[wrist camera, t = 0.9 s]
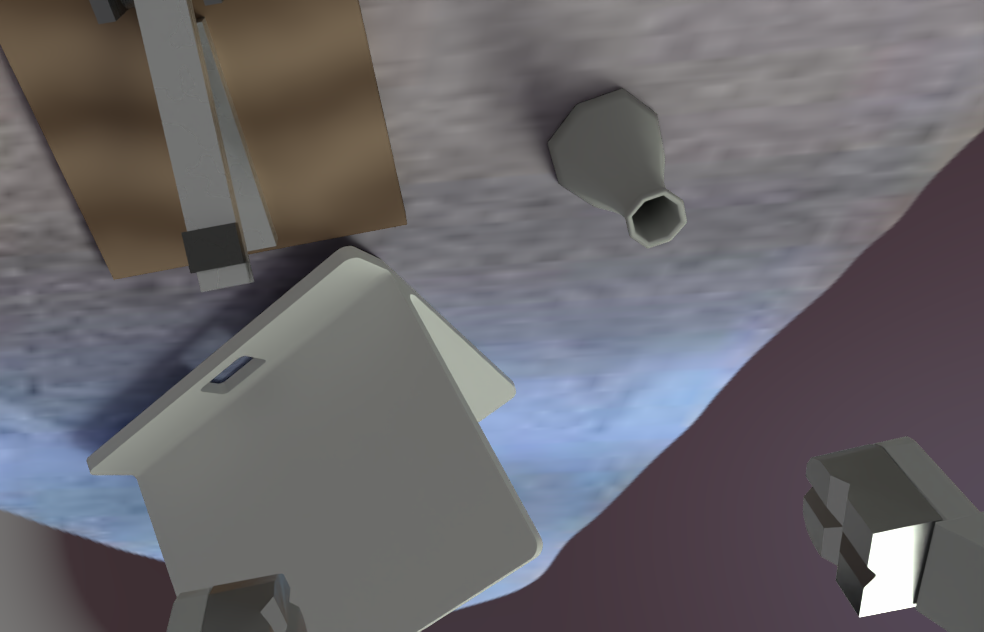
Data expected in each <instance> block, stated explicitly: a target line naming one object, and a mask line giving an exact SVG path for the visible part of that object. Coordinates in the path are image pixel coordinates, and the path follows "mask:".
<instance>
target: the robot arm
mask: <svg viewBox="0 0 984 632" xmlns="http://www.w3.org/2000/svg"><path fill="white" fill-rule="evenodd" d="M806 477H807V479H808V480H809V482H810V483H811V485H812V488H811V489H810V490H809V491H808V492H807V494H806V495H805V496H804V501H803V515H804V519H805V524H806V528H807V531H808V534H809V536H810V538H811V540H812V543H813V544H814V546H815V548H816V549H817V551H818V553H819V554H820V556H821V557H823V558H825V559H826V560H828V561H830V562H832V563H833V564H835V565H837V566H838V567H837V575H836V581H837V583H838V585H839V586H840V588H841V589H842V591H843V592H844V594H845V596H846V597H847V599H848V600H849V602H850V603H851V605H852V607H853V608H854V610H855V611H856V613H857V614H858V616H859V617H863V616H867V615H873V614H878V613H883V612H888V611H893V610H898V609H903V608H909V607H914V606H916V608H915V609H916V610H917V611H919V612H920V613H921V614H923V615H924V616H926V617H928V618H929V619H931V620H932V621H933V622H935V623H936V624H938V625H939V626H941V627H942V628H944V629H945V630H947V631H948V632H984V512H980V511H979V510H978V509H977V508H976V507H975V506H974V505H973V504H972V503H971V502H970V501H969V500H968V498H966V496H965V495H964V494H963V493H962V492H961V491H960V490H959V489H958V487H957V486H956V485H955V484H954V483H953V482H952V481H951V480H950V479H949V478H948V476H947V475H945V473H944V472H943V471H942V470H941V469H940V468H939V467H938V466H937V464H936V463H935V462H934V461H933V460H932V459H931V458H930V457H929V456H928V455H927V454H926V452H925V451H924V450H923V449H922V448H921V447H920V446H919V445H918V444H917V443H916V441H915V440H913V439H911V438H909V437H907V436H906V437H902V438H897V439H893V440H888V441H884V442H879V443H875V444H869V445H864V446H860V447H855V448H851V449H847V450H842V451H838V452H834V453H829V454H825V455H821V456H816V457H812V458H811V459H810V461H809V462H808V463H807V469H806ZM289 599H290V586H289V584H288V582H287V580H286V578H285V576H284V574H274V575H269V576H264V577H258V578H253V579H248V580H243V581H237V582H232V583H227V584H222V585H216V586H213V587H208V588H203V589H198V590H193V591H188V592H183V593H180V594H179V596H178V597H177V599H176V600H175V602H174V604H173V607H172V611H171V615H170V620H169V624H168V628H167V632H307V629H306V625H305V621H304V617H303V615H302V613H301V610H300V608H299V607H298V606H296V605H294V604H292V603H290V602H289Z"/></svg>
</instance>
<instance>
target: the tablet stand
mask: <svg viewBox="0 0 984 632" xmlns="http://www.w3.org/2000/svg"><path fill="white" fill-rule="evenodd" d="M242 356H249V357H254V358H253V359H252V360H251V361H249V362H248V363H247V364H246V365H244V366H243V367H242V368H241V369H240V370H238V371H237V372H236V373H235V374H233V375H232V376H231V377H230V378H229V379H227V380H226V381H225V382H223V383H220V384H217V383H211V382H210V381H211V380H212V379H214V378H215V377H216V376H217V375H218V374H220V373H221V372H222V371H223V370H225V369H226V368H227V367H228V366H229V365H231V364H232V363H233V362H234V361H236V360H237V359H238V358H240V357H242ZM515 394H516V389H515V385H514V383H513V381H512V380H511V379H510V378H508V377H507V376H506V375H505V374H504V373H503V372H502V371H501V370H500V369H499V368H498V367H497V366H495V365H494V364H493V363H492V362H491V361H490V360H489V359H488V358H487V357H486V356H485V355H484V354H483V353H481V352H480V351H479V350H478V349H477V348H476V347H475V346H474V345H473V344H472V343H471V342H470V341H469V340H467V339H466V338H465V337H464V336H463V335H462V334H461V333H460V332H459V331H458V330H457V329H456V328H454V327H453V326H452V325H451V324H450V323H449V322H448V321H447V320H446V319H445V318H444V317H443V316H442V315H440V314H439V313H438V312H437V311H436V310H435V309H434V308H433V307H432V306H431V305H430V304H429V303H427V302H426V301H425V300H424V299H423V298H422V297H421V296H420V295H419V294H418V293H417V292H416V291H415V290H413V289H412V288H411V287H410V286H409V285H408V284H407V283H406V282H405V281H404V280H403V279H402V278H401V277H399V276H398V275H397V274H396V273H395V272H394V271H393V270H392V269H391V268H390V267H389V266H388V265H386V264H385V263H384V262H383V261H382V260H381V259H379V258H377V257H375V256H373V255H370V254H368V253H366V252H364V251H362V250H360V249H358V248H356V247H353V246H345V247H342V248H340V249H338V250H337V251H336V252H334V253H333V254H332V255H331V256H330V257H328V258H327V259H326V260H325V261H324V262H322V263H321V264H320V265H319V266H318V267H316V268H315V269H314V270H313V271H312V272H310V273H309V274H308V275H307V276H306V277H304V278H303V279H302V280H301V281H300V282H298V283H297V284H296V285H295V286H294V287H292V288H291V289H290V290H289V291H288V292H286V293H285V294H284V295H283V296H282V297H280V298H279V299H278V300H277V301H275V302H274V303H273V304H272V305H271V306H269V307H268V308H267V309H266V310H265V311H263V312H262V313H261V314H260V315H259V316H257V317H256V318H255V319H254V320H253V321H251V322H250V323H249V324H248V325H247V326H245V327H244V328H243V329H242V330H241V331H239V332H238V333H237V334H236V335H235V336H233V337H232V338H231V339H230V340H229V341H227V342H226V343H225V344H224V345H223V346H221V347H220V348H219V349H218V350H217V351H215V352H214V353H213V354H212V355H211V356H209V357H208V358H207V359H206V360H205V361H203V362H202V363H201V364H200V365H199V366H197V367H196V368H195V369H194V370H193V371H191V372H190V373H189V374H188V375H186V376H185V377H184V378H183V379H182V380H180V381H179V382H178V383H177V384H176V385H174V386H173V387H172V388H171V389H170V390H168V391H167V392H166V393H165V394H164V395H162V396H161V397H160V398H159V399H158V400H156V401H155V402H154V403H153V404H152V405H150V406H149V407H148V408H147V409H146V410H144V411H143V412H142V413H141V414H140V415H138V416H137V417H136V418H135V419H134V420H132V421H131V422H130V423H129V424H128V425H126V426H125V427H124V428H123V429H122V430H120V431H119V432H118V433H117V434H116V435H114V436H113V437H112V438H111V439H110V440H108V441H107V442H106V443H105V444H104V445H102V446H101V447H100V448H99V449H97V450H96V451H95V452H94V453H93V454H91V455H90V456H89V457H88V458H87V464H88V467H89V470H90V473H91V474H92V475H133V476H135V477H136V479H137V481H138V484H139V487H140V490H141V493H142V496H143V499H144V502H145V505H146V507H147V510H148V513H149V516H150V519H151V522H152V525H153V528H154V531H155V534H156V537H157V540H158V543H159V546H160V549H161V552H162V555H163V558H164V561H165V563H166V566H167V569H168V572H169V575H170V578H171V581H172V584H173V587H174V590H175V593H176V596H177V597H178V596H179V594H180V593H183V592H188V591H193V590H198V589H203V588H208V587H213V586H216V585H222V584H227V583H232V582H237V581H243V580H248V579H253V578H258V577H264V576H269V575H274V574H284V576H285V578H286V580H287V582H288V584H289V586H290V599H289V602H290V603H292V604H294V605H296V606H298V607H299V608H300V610H301V613H302V615H303V617H304V621H305V625H306V629H307V632H420V631H422V630H423V629H425V628H427V627H428V626H430V625H431V624H433V623H434V622H436V621H438V620H439V619H441V618H442V617H444V616H445V615H447V614H449V613H450V612H452V611H453V610H455V609H456V608H458V607H460V606H461V605H463V604H464V603H466V602H467V601H469V600H470V599H472V598H474V597H475V596H477V595H478V594H480V593H481V592H483V591H485V590H486V589H488V588H489V587H491V586H492V585H494V584H496V583H497V582H499V581H500V580H502V579H503V578H505V577H507V576H508V575H510V574H511V573H513V572H514V571H516V570H517V569H519V568H521V567H522V566H524V565H525V564H527V563H528V562H530V561H532V560H533V559H535V558H536V557H538V556H539V554H540V553H541V551H542V546H543V543H542V539H541V537H540V535H539V533H538V531H537V529H536V528H535V526H534V524H533V522H532V520H531V518H530V517H529V515H528V513H527V511H526V509H525V507H524V506H523V504H522V502H521V500H520V498H519V497H518V495H517V493H516V491H515V489H514V487H513V486H512V484H511V482H510V480H509V478H508V476H507V475H506V473H505V471H504V469H503V467H502V465H501V464H500V462H499V460H498V458H497V456H496V455H495V453H494V451H493V449H492V447H491V445H490V444H489V442H488V440H487V438H486V436H485V434H484V433H483V431H482V429H481V427H480V425H479V424H478V422H480V421H481V420H482V419H484V418H485V417H487V416H488V415H489V414H491V413H492V412H494V411H495V410H496V409H498V408H499V407H501V406H502V405H504V404H505V403H506V402H508V401H509V400H511V399H512V398H513V397H514V396H515Z"/></svg>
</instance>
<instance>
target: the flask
mask: <svg viewBox="0 0 984 632" xmlns="http://www.w3.org/2000/svg"><path fill="white" fill-rule="evenodd" d="M548 147H549V151H550V154H551V158H552V161H553V165H554V168H555V172H556V176H557V179H558V183H559V184H560V185H561V186H563V187H564V188H566V189H567V190H569V191H570V192H572V193H574V194H575V195H577V196H578V197H580V198H581V199H583V200H584V201H586V202H587V203H589V204H590V205H592V206H594V207H597V208H601V209H605V210H609V211H612V212H615V213H618V214H620V215H622V216H623V217H624V218H625V220H626V224H627V228H628V233H629V236H630V237H631V238H632V239H634V240H635V241H637V242H639V243H640V244H642V245H643V246H645V247H646V248H651V247H654V246H657V245H660V244H663V243H666V242H669V241H671V240H672V239H673V238H674V237H675V235H676V234H677V233H678V232H679V231H680V230H681V229H682V228H683V226H684V225H685V224H686V223H687V220H686V214H685V209H684V203H683V201H682V199H680V198H679V197H677V196H676V195H674V194H673V193H672V192H670V191H669V190H667V189H666V188H665V185H664V166H665V154H664V148H663V143H662V138H661V132H660V127H659V122H658V116H657V114H656V113H655V112H654V111H652V110H651V109H650V108H648V107H647V106H646V105H644V104H643V103H642V102H640V101H639V100H638V99H636V98H635V97H634V96H632V95H631V94H630V93H628V92H627V91H626V90H624V89H623V88H622V89H619V90H616V91H614V92H611V93H608V94H605V95H602V96H599V97H597V98H594V99H591V100H588V101H585V102H582V103H579V104H577V105H576V106H575V107H574V109H573V110H572V111H571V113H570V114H569V115H568V117H567V118H566V119H565V121H564V122H563V123H562V125H561V126H560V127H559V129H558V130H557V131H556V132H555V134H554V135H553V136H552V138H551V139H550V140H549V142H548Z"/></svg>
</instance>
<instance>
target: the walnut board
mask: <svg viewBox="0 0 984 632" xmlns="http://www.w3.org/2000/svg"><path fill="white" fill-rule="evenodd" d="M192 5H193V9H194V14H195V18H196V19H198V18H203V17H205V19H206V22H207V25H208V28H209V31H210V34H211V37H212V40H213V43H214V46H215V49H216V52H217V56H218V59H219V62H220V65H221V68H222V71H223V74H224V77H225V80H226V83H227V86H228V89H229V92H230V95H231V98H232V101H233V104H234V107H235V110H236V113H237V116H238V119H239V122H240V125H241V128H242V131H243V134H244V137H245V140H246V143H247V146H248V149H249V152H250V155H251V158H252V161H253V164H254V167H255V171H256V174H257V177H258V180H259V183H260V186H261V189H262V192H263V195H264V198H265V201H266V204H267V207H268V210H269V213H270V216H271V219H272V222H273V225H274V228H275V231H276V234H277V237H278V240H277V246H274V247H269V248H263V249H258V250H253V251H248V254H253V253H258V252H263V251H269V250H274V249H279V248H285V247H290V246H295V245H301V244H306V243H311V242H316V241H322V240H327V239H332V238H338V237H343V236H348V235H354V234H359V233H364V232H370V231H375V230H380V229H385V228H391V227H396V226H401V225H407V220H406V214H405V209H404V204H403V200H402V195H401V191H400V186H399V182H398V177H397V173H396V168H395V164H394V159H393V155H392V150H391V145H390V141H389V136H388V132H387V127H386V123H385V118H384V114H383V109H382V105H381V100H380V96H379V91H378V87H377V82H376V77H375V73H374V68H373V64H372V59H371V55H370V50H369V46H368V41H367V37H366V32H365V28H364V23H363V18H362V14H361V9H360V5H359V0H224V1H223V2H222V3H218V4H213V5H207V6H205V4H204V1H203V0H192ZM0 45H1V47H2V49H3V51H4V53H5V55H6V57H7V59H8V61H9V63H10V65H11V67H12V69H13V72H14V74H15V76H16V78H17V80H18V82H19V84H20V86H21V88H22V90H23V92H24V94H25V96H26V98H27V101H28V103H29V105H30V107H31V109H32V111H33V113H34V115H35V117H36V119H37V121H38V123H39V125H40V128H41V130H42V132H43V134H44V136H45V138H46V140H47V142H48V144H49V146H50V148H51V150H52V152H53V154H54V157H55V159H56V161H57V163H58V165H59V167H60V169H61V171H62V173H63V175H64V177H65V179H66V181H67V183H68V186H69V188H70V190H71V192H72V194H73V196H74V198H75V200H76V202H77V204H78V206H79V208H80V210H81V213H82V215H83V217H84V219H85V221H86V223H87V225H88V227H89V229H90V231H91V233H92V235H93V237H94V239H95V242H96V244H97V246H98V248H99V250H100V252H101V254H102V256H103V258H104V260H105V262H106V264H107V266H108V268H109V271H110V273H111V275H112V277H113V279H114V280H115V279H120V278H125V277H131V276H136V275H141V274H147V273H152V272H157V271H162V270H168V269H173V268H178V267H184V266H189V264H188V260H187V256H186V251H185V247H184V243H183V238H182V234H181V232H186V231H187V229H186V225H185V220H184V216H183V212H182V207H181V203H180V199H179V194H178V190H177V186H176V181H175V177H174V173H173V168H172V164H171V160H170V155H169V151H168V147H167V142H166V138H165V134H164V129H163V125H162V121H161V116H160V112H159V108H158V103H157V99H156V95H155V90H154V86H153V82H152V77H151V73H150V69H149V64H148V60H147V56H146V51H145V47H144V43H143V38H142V34H141V30H140V25H139V21H138V17H137V12H136V8H135V7H133V8H129V9H128V10H127V11H126V12H125V13H124V14H123V15H122V16H121V17H120V18H119V19H118V20H117V21H115V22H109V23H104V24H98V21H97V19H96V16H95V14H94V11H93V9H92V6H91V4H90V1H89V0H0Z"/></svg>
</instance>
